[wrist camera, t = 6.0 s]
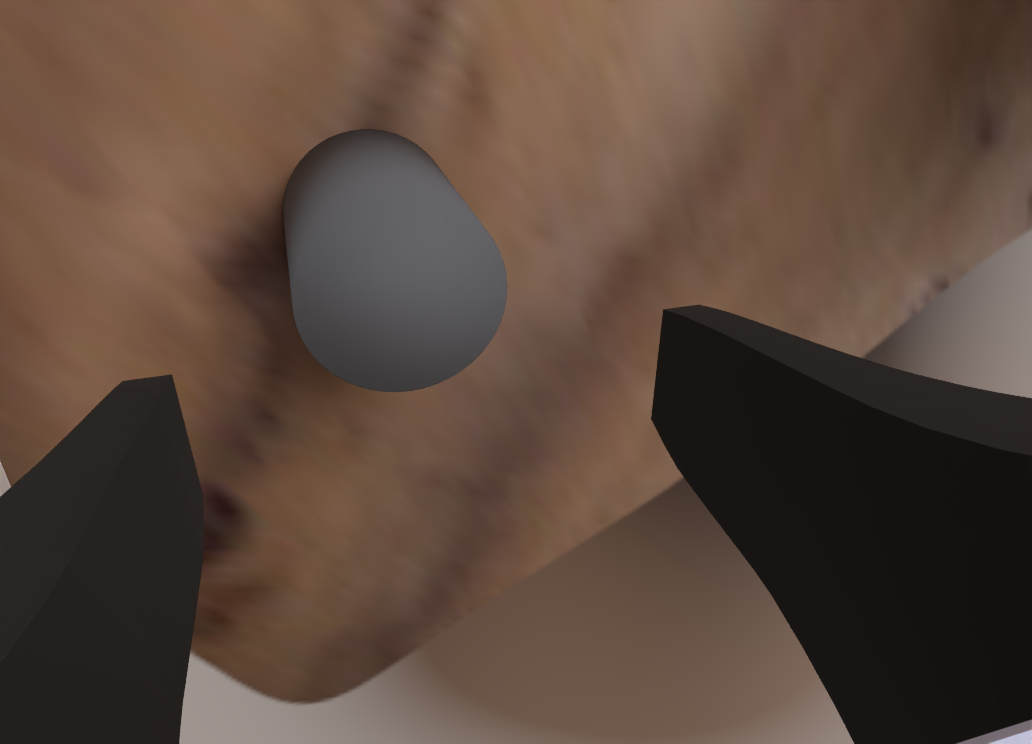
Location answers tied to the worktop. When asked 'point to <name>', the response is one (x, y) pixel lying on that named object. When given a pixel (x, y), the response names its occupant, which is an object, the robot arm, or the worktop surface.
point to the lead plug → (388, 264)
